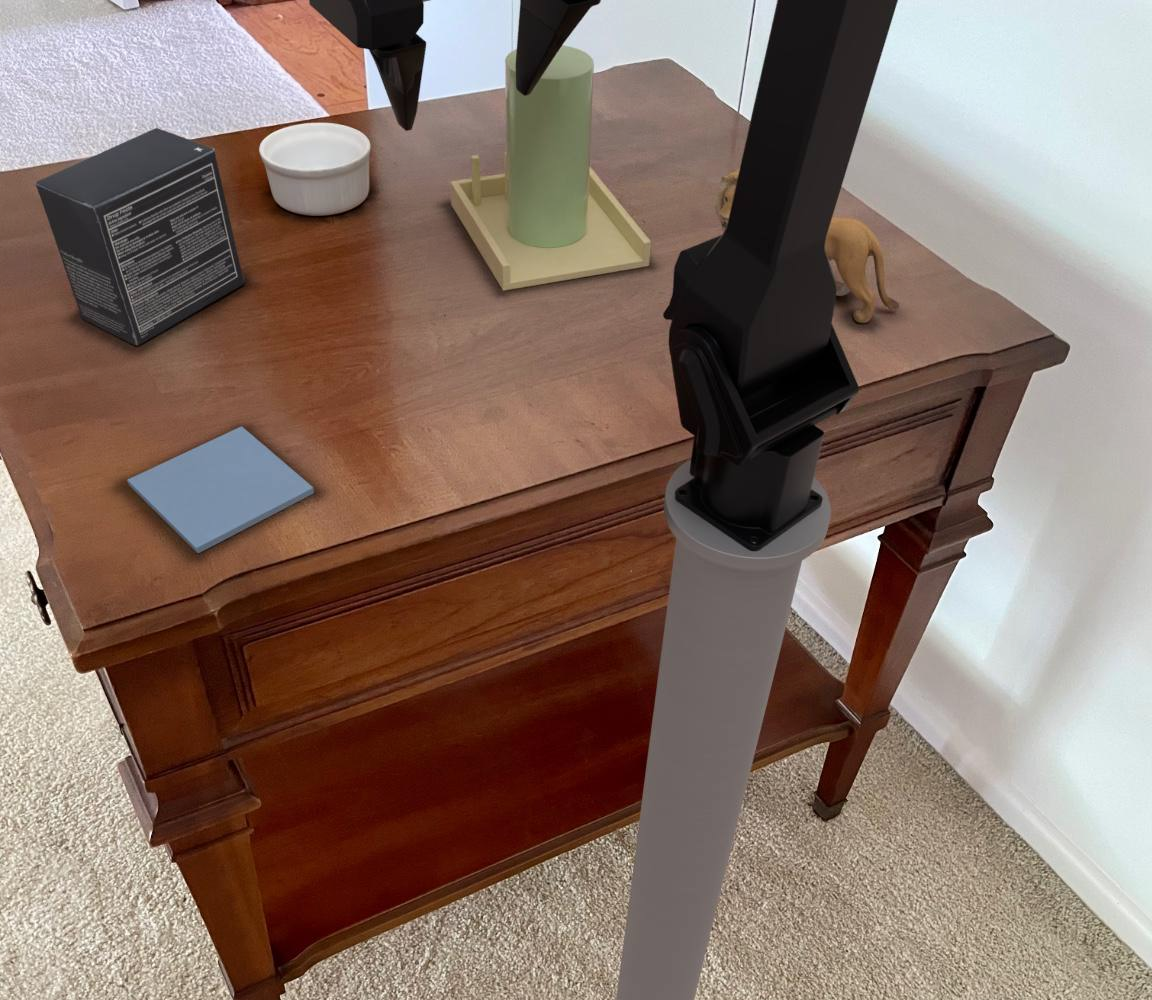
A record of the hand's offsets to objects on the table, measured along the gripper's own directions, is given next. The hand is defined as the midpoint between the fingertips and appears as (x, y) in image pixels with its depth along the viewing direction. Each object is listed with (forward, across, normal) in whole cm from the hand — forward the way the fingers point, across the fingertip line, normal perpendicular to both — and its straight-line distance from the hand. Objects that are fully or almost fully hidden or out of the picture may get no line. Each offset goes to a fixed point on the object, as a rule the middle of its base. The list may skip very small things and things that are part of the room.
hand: (465, 109), depth 73 cm
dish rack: (+16, -11, -3) cm, 19 cm away
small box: (+17, +18, -12) cm, 27 cm away
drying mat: (+14, +24, +9) cm, 29 cm away
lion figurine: (+13, -21, +15) cm, 29 cm away
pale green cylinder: (+15, -11, -3) cm, 19 cm away
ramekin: (+18, 0, -19) cm, 26 cm away
